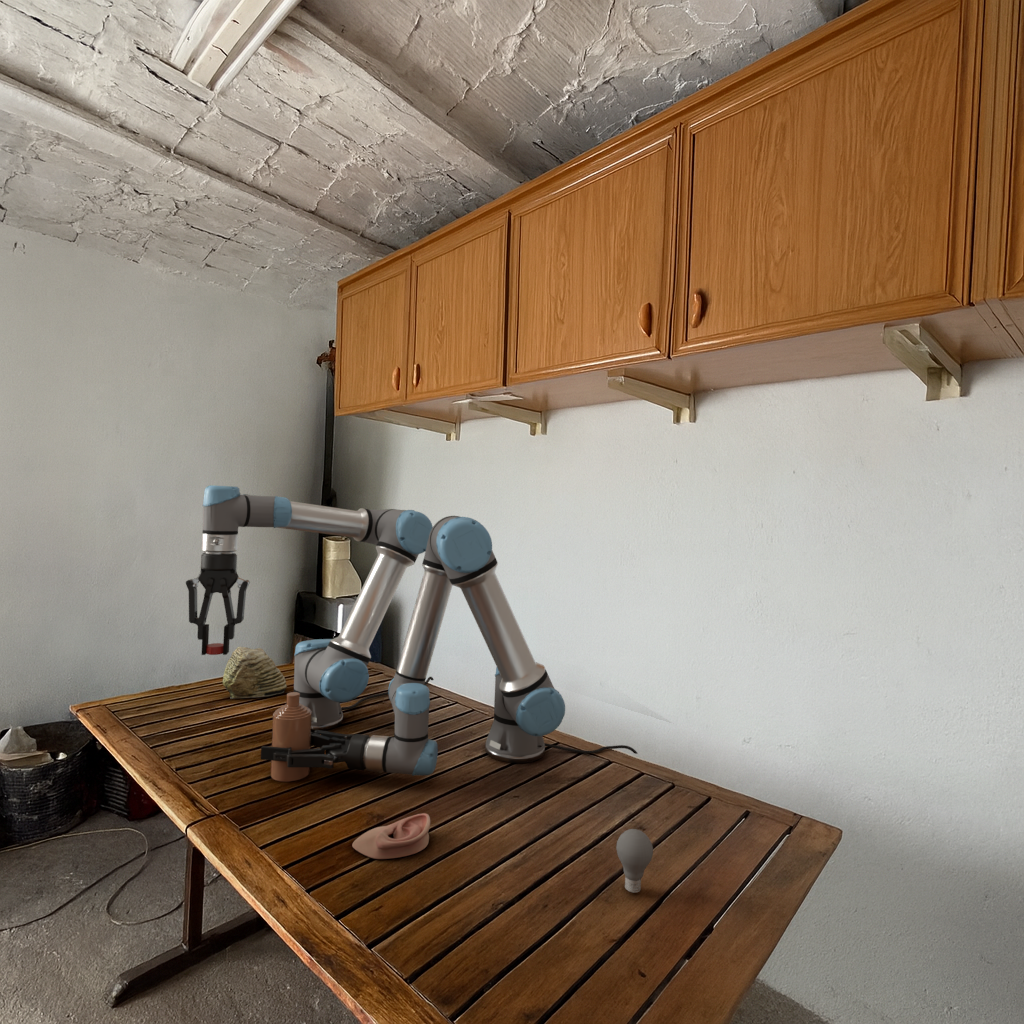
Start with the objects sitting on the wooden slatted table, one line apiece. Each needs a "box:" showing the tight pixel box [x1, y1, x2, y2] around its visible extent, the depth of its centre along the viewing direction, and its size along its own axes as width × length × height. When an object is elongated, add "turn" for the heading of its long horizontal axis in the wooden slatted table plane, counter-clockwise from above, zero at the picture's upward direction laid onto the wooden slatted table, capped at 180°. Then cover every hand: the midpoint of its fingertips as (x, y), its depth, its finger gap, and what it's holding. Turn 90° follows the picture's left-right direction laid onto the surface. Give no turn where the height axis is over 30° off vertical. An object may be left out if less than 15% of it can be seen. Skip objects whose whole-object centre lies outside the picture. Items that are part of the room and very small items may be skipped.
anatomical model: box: [351, 812, 431, 860], centre depth 117 cm, size 13×4×12 cm
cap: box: [205, 642, 223, 656], centre depth 146 cm, size 4×4×2 cm
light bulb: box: [615, 828, 654, 894], centre depth 106 cm, size 6×6×10 cm
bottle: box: [270, 691, 312, 783], centre depth 144 cm, size 8×8×18 cm
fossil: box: [222, 646, 288, 699], centre depth 198 cm, size 9×18×15 cm, turn 132°
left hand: (215, 653), depth 146 cm, fingers closed on cap, 4 cm apart
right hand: (271, 744), depth 144 cm, fingers closed on bottle, 8 cm apart
